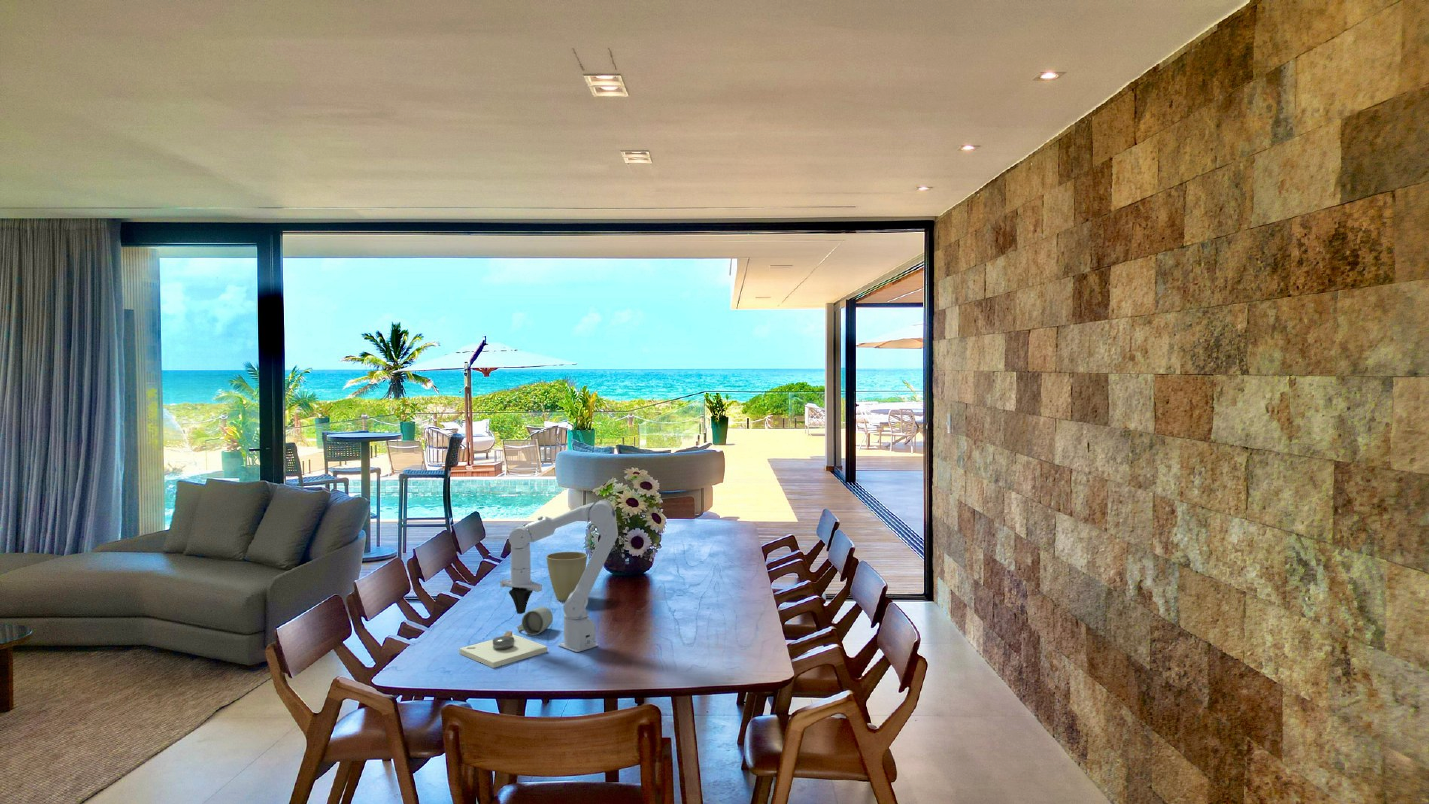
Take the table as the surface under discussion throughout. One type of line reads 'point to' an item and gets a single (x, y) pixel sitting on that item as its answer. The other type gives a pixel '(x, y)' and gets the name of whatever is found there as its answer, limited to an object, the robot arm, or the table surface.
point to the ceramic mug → (536, 621)
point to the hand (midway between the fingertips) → (521, 612)
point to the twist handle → (504, 641)
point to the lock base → (502, 652)
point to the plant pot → (565, 572)
